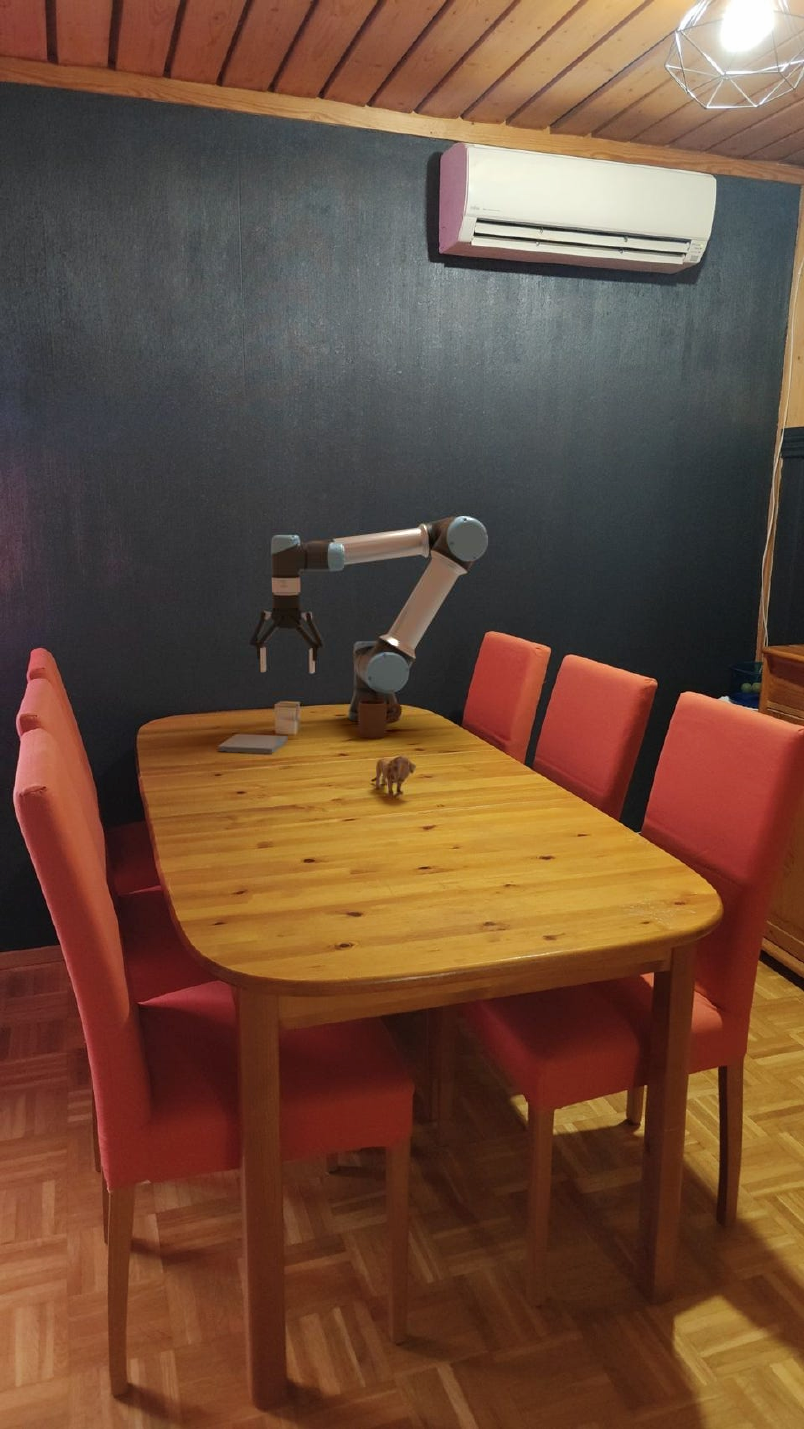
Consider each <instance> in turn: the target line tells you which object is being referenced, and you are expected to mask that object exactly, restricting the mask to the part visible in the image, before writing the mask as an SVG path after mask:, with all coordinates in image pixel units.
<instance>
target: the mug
mask: <svg viewBox="0 0 804 1429" xmlns="http://www.w3.org/2000/svg"><path fill="white" fill-rule="evenodd" d="M392 708H397V710H396V713H395V714H393V715H388V716H386V711H388V710H390V709H392ZM402 713H403V708H402V706H401V704H400V703H398V702H397V703H396V702H391V703H389V704H387V705H386V702H385V701H381V700H363V701H360V702H359V707H358V722H357V723H358V724H357V726H358V727H357V728H358V732H357V733H358V735H359V737H360V738H362V739H369V740H374V739H375V740H376V739H383V738H385V737H386V735H387V725H388V724H389V723H391V722H390V721H392V722H394V721H393V720H396V719H398V718H399V717H401V716H402ZM399 719H400V718H399ZM399 719H398V720H399ZM396 721H397V720H396Z"/></svg>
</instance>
